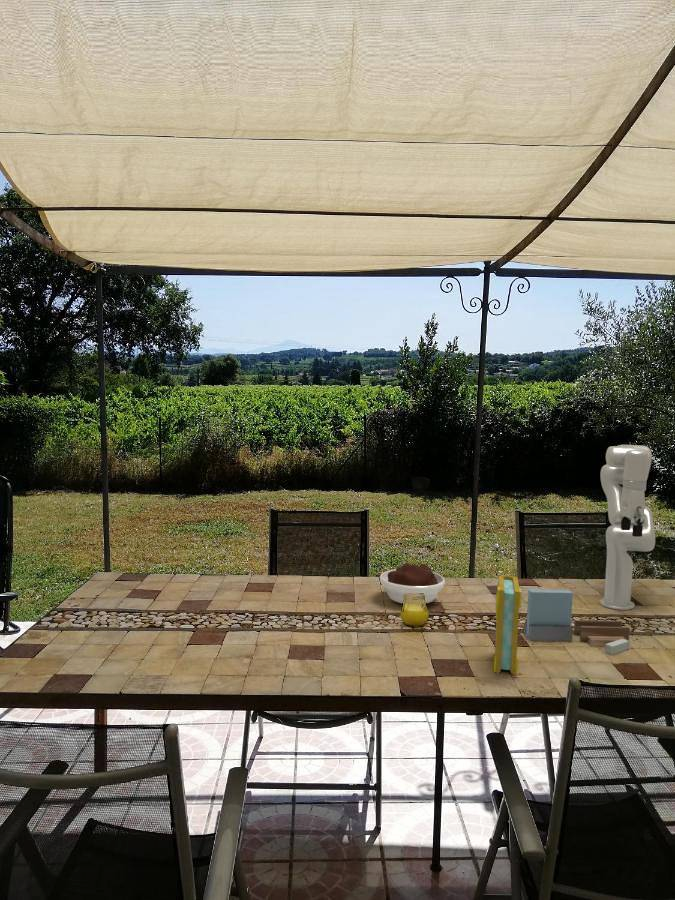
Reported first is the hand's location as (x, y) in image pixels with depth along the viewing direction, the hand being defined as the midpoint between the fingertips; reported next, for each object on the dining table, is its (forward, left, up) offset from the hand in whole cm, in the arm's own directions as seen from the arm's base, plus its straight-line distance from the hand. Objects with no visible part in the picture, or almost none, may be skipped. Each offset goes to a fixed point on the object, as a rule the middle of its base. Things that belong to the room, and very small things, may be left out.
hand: (631, 533), depth 251 cm
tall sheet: (+14, -32, -33) cm, 48 cm away
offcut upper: (+24, -14, -32) cm, 42 cm away
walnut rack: (+14, -14, -33) cm, 39 cm away
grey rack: (+14, -32, -33) cm, 48 cm away
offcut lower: (+20, -14, -34) cm, 41 cm away
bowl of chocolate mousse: (-22, -74, -34) cm, 84 cm away
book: (+36, -52, -34) cm, 72 cm away
